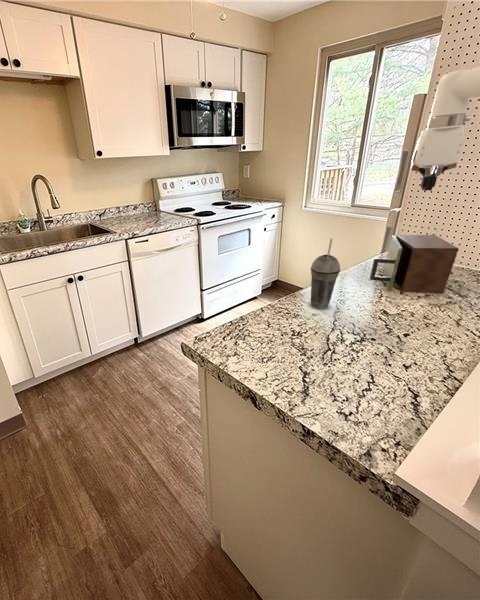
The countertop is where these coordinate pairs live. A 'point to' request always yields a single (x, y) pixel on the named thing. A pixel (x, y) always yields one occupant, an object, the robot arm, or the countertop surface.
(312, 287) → the beverage cup
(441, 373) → the countertop surface
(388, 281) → the cupboard door
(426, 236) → the cupboard
